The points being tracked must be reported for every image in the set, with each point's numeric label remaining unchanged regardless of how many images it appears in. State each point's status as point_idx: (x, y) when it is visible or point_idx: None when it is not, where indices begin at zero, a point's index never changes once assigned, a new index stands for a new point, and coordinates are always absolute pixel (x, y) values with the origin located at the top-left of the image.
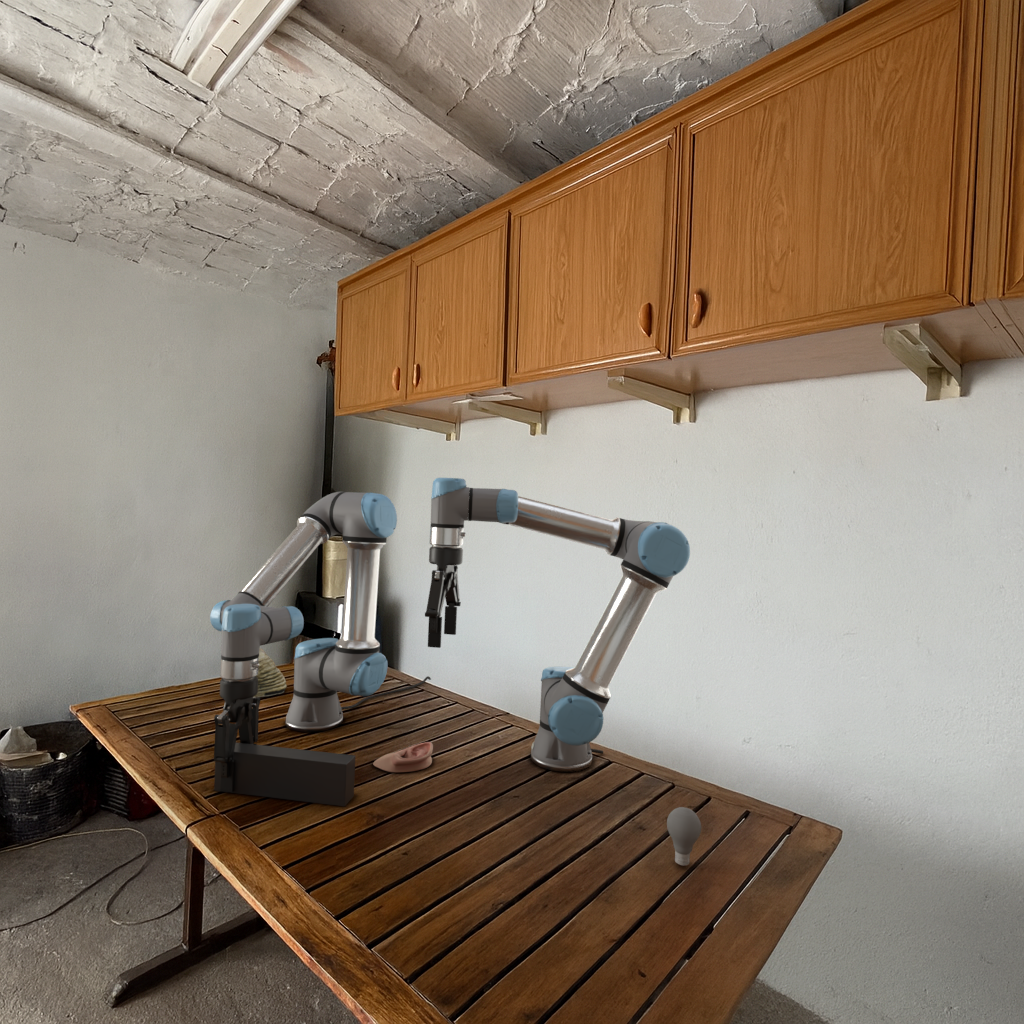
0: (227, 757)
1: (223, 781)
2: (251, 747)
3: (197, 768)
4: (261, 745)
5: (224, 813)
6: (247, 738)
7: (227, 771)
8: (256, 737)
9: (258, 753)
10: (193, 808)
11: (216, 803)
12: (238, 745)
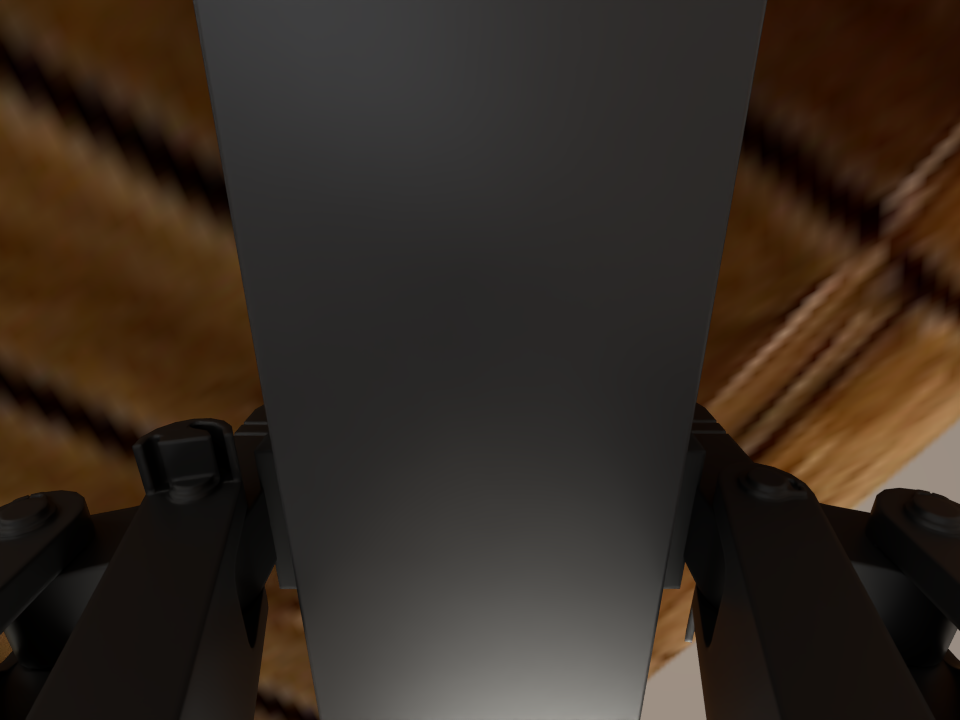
0: (914, 533)
1: None
2: (418, 401)
3: (311, 681)
4: (254, 270)
5: (883, 205)
6: (221, 629)
7: (710, 429)
8: (2, 544)
9: (702, 71)
10: (804, 439)
11: (729, 346)
12: (411, 619)
